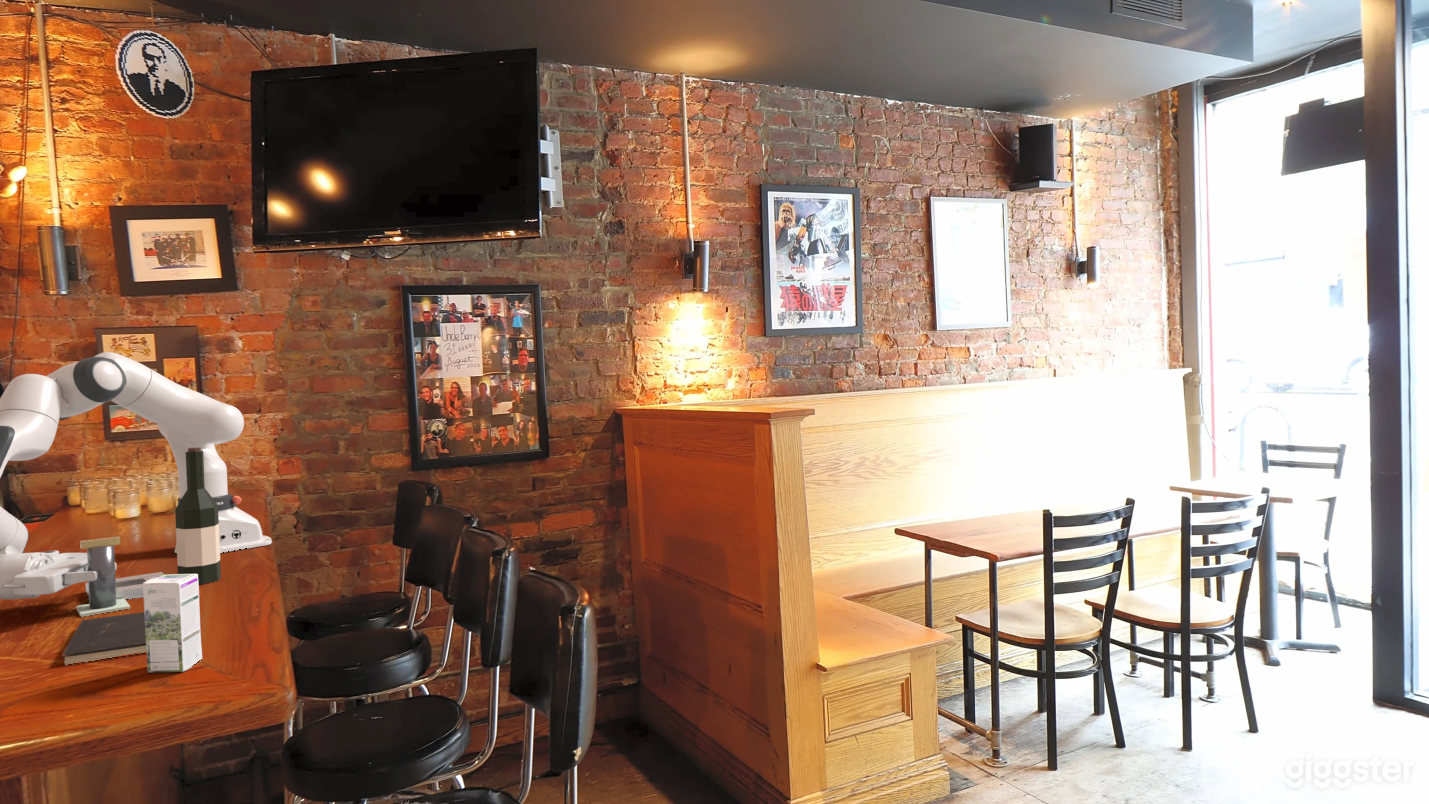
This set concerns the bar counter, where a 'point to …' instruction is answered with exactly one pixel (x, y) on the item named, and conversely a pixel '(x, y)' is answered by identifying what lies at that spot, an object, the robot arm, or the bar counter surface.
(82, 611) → the coaster
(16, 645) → the bar counter surface
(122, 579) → the plate
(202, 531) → the wine bottle
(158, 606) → the syrup box
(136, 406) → the robot arm
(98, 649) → the hardcover book
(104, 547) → the t key
